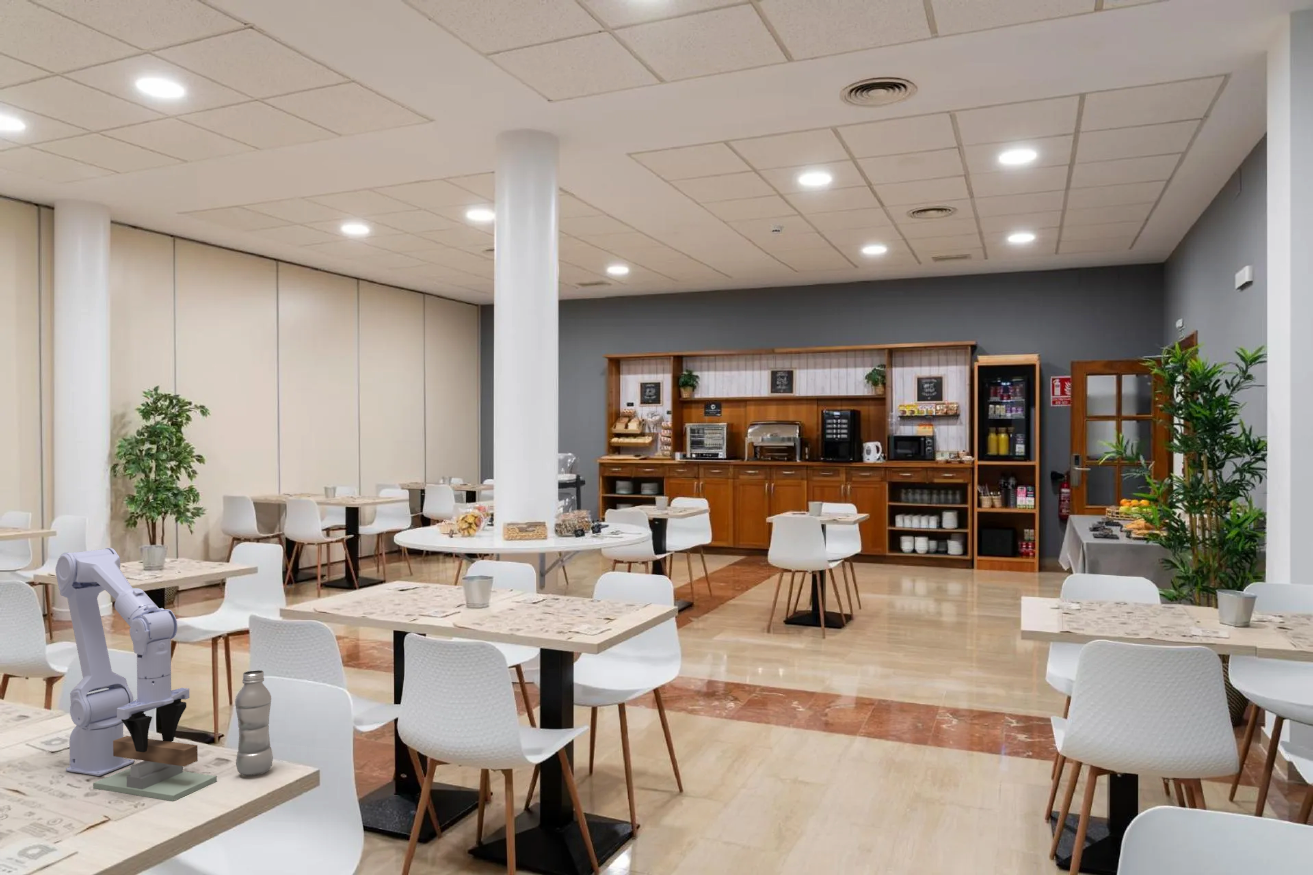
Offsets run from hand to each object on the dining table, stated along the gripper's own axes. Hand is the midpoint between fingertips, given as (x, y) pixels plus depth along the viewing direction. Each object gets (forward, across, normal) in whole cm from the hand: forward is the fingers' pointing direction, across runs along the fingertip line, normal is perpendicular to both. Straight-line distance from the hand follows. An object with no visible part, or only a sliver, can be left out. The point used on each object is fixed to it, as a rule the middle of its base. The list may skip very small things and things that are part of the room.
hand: (155, 745), depth 173 cm
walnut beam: (+2, 0, 0) cm, 2 cm away
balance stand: (+7, 0, 0) cm, 7 cm away
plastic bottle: (+8, +10, -14) cm, 19 cm away
